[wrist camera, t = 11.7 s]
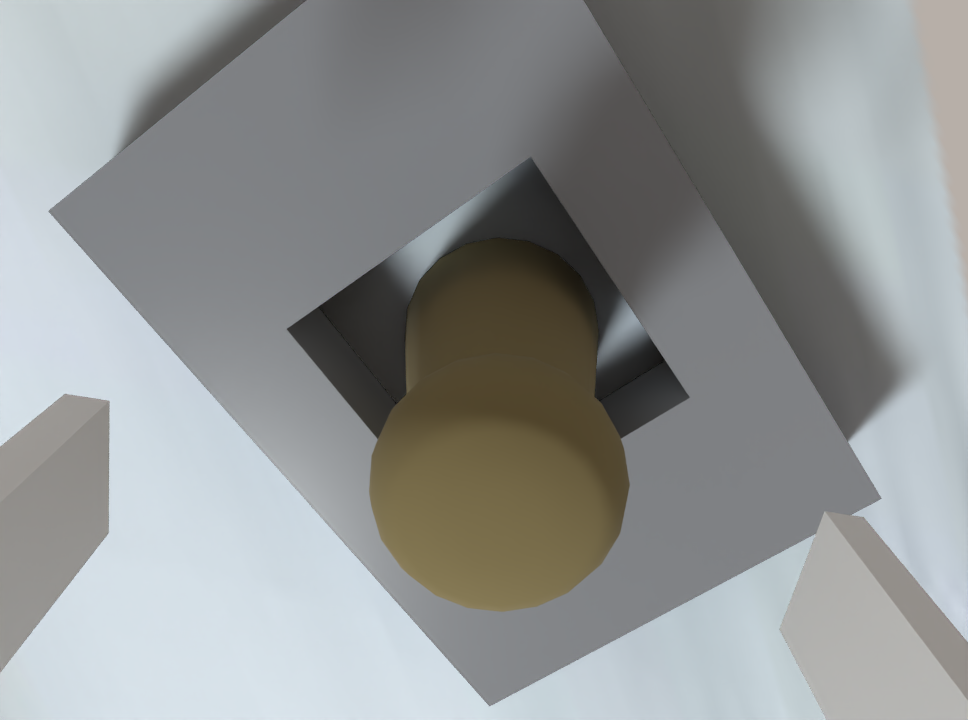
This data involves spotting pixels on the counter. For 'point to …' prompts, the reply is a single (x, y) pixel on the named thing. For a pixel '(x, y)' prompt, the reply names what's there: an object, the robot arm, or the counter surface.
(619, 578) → the dock board
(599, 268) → the counter surface
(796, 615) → the robot arm
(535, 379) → the cork
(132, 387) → the counter surface
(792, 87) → the counter surface
